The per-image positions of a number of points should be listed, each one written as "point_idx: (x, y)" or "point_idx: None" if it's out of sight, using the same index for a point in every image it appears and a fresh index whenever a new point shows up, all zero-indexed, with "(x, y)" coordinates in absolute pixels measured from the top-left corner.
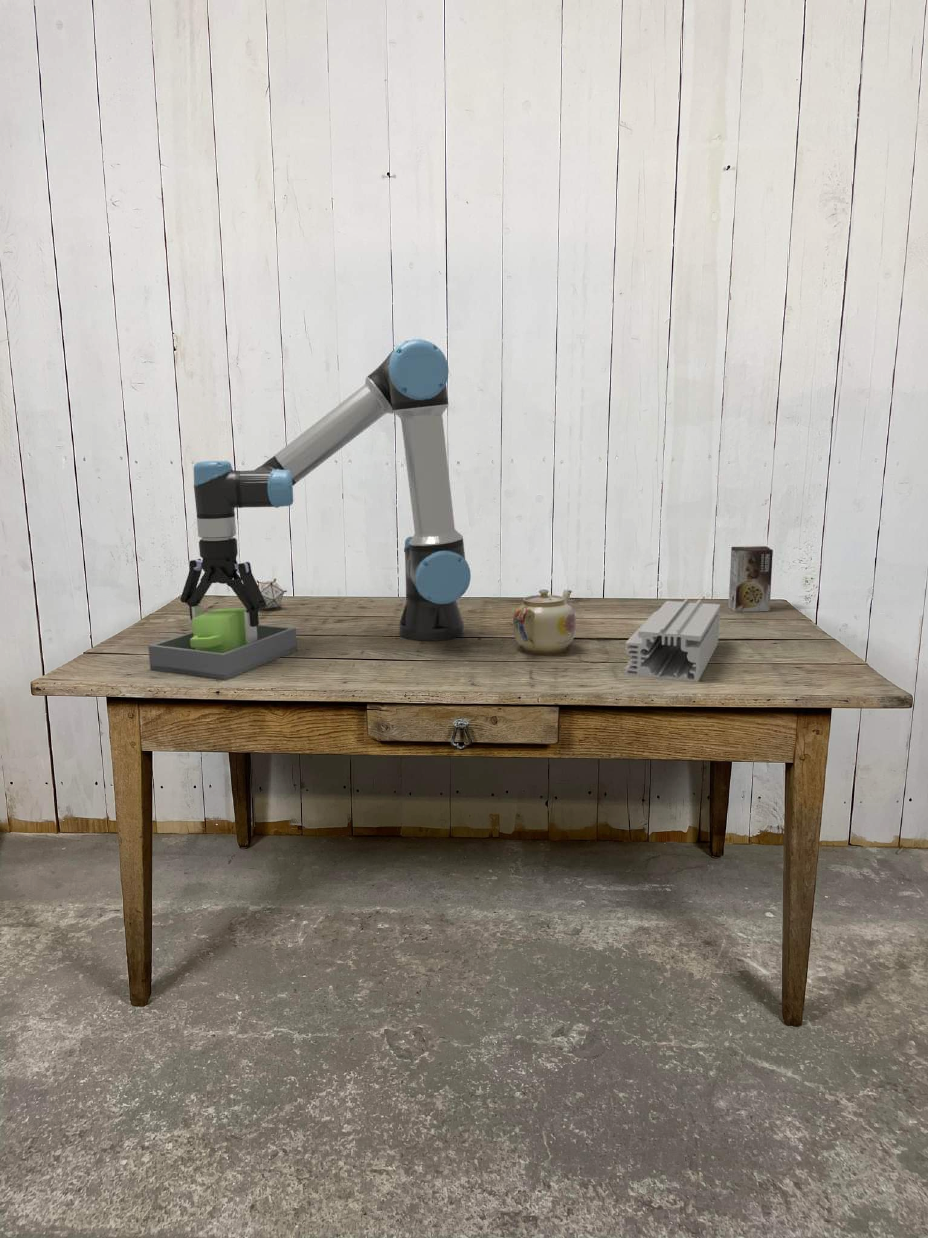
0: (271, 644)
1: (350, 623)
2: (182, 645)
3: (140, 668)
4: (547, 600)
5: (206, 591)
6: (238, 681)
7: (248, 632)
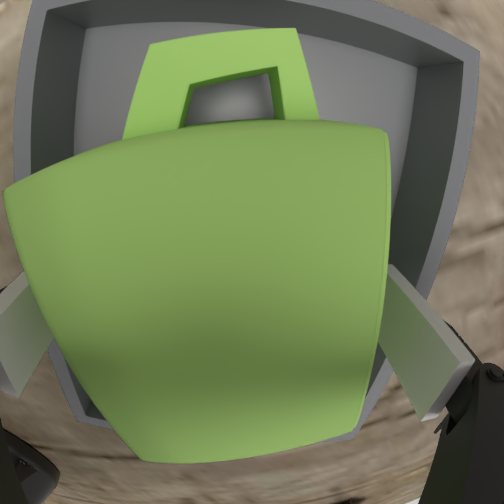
0: None
1: (161, 496)
2: (414, 213)
3: None
4: None
5: (420, 502)
6: None
7: None
